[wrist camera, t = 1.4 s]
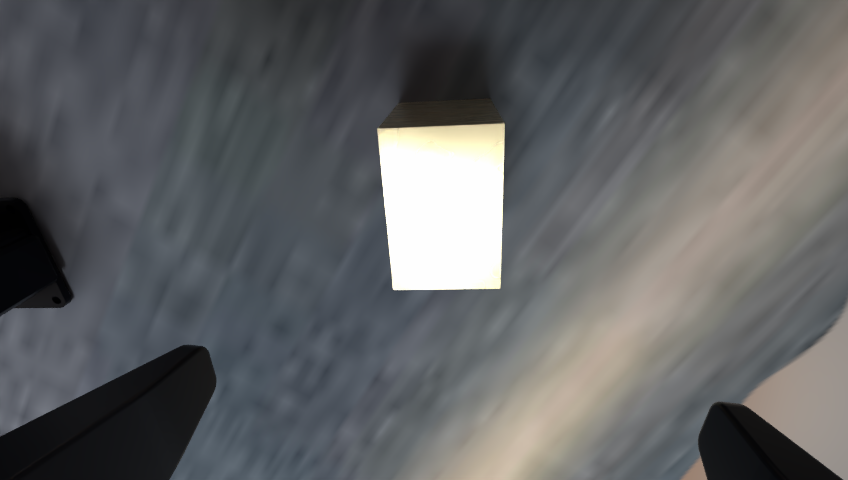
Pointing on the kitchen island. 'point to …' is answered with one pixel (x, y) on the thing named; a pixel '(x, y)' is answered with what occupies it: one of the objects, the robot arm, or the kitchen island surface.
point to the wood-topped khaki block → (443, 193)
